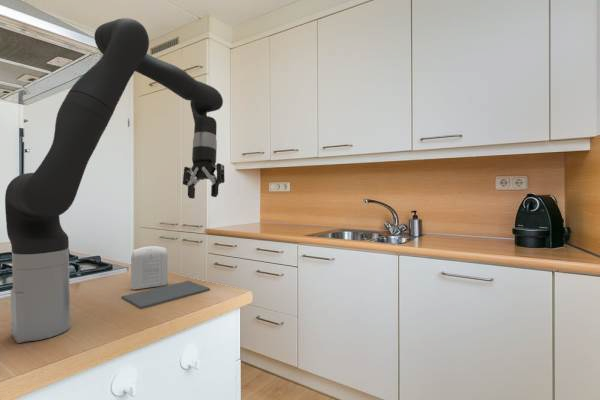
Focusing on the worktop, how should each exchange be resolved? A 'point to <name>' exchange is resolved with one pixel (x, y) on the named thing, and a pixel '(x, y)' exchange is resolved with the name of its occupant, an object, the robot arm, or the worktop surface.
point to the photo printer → (149, 267)
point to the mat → (164, 294)
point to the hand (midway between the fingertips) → (202, 197)
